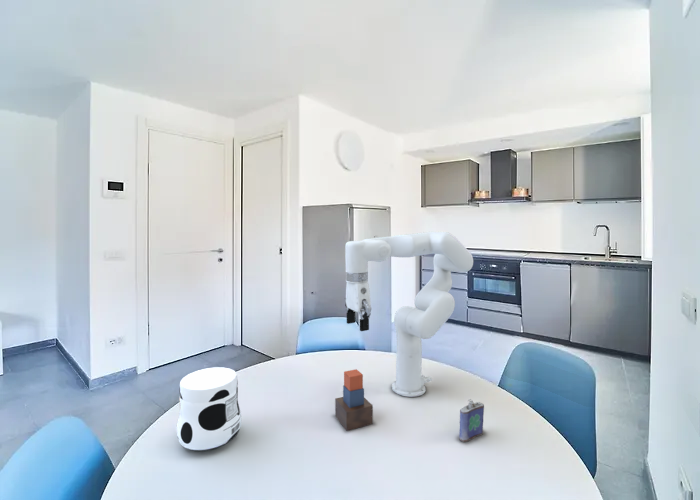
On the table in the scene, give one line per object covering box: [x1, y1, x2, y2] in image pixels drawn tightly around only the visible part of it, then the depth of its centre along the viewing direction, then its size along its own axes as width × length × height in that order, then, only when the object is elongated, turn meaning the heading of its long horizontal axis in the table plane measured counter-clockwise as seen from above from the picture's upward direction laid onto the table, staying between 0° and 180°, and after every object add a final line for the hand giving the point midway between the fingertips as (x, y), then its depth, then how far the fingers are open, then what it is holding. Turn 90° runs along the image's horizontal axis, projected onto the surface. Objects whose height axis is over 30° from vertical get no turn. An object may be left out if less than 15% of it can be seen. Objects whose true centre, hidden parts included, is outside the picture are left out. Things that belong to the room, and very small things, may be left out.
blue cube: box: [342, 384, 365, 408], centre depth 107 cm, size 5×5×5 cm
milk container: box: [176, 366, 242, 452], centre depth 98 cm, size 17×17×18 cm
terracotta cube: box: [343, 368, 364, 391], centre depth 107 cm, size 4×4×4 cm
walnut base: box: [334, 396, 374, 432], centre depth 108 cm, size 9×9×6 cm
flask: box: [458, 398, 485, 443], centre depth 100 cm, size 9×3×11 cm, turn 121°
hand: (357, 326), depth 116 cm, fingers open, 9 cm apart
